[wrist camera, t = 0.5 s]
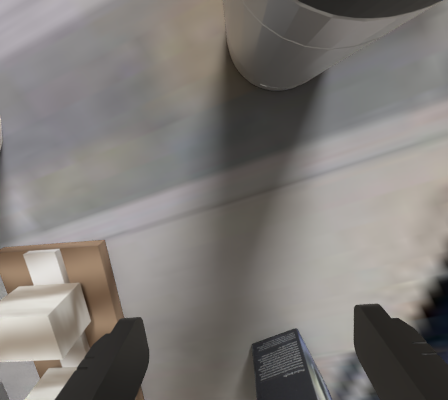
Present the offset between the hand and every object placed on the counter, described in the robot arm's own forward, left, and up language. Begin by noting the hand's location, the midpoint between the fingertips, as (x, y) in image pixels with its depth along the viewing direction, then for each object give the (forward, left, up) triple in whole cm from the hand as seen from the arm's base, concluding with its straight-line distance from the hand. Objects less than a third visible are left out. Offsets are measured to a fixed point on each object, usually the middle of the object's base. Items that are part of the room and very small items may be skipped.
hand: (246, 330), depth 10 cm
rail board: (+16, -21, -18) cm, 32 cm away
